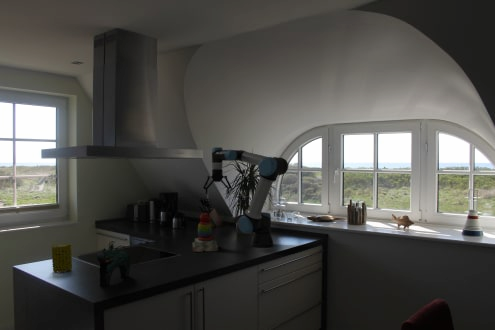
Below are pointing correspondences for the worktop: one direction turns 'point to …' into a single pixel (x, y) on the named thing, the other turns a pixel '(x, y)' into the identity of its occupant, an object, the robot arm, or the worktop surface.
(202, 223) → the stacking bear
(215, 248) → the plinth
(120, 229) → the worktop surface
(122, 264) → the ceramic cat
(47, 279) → the worktop surface
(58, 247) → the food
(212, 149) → the robot arm
